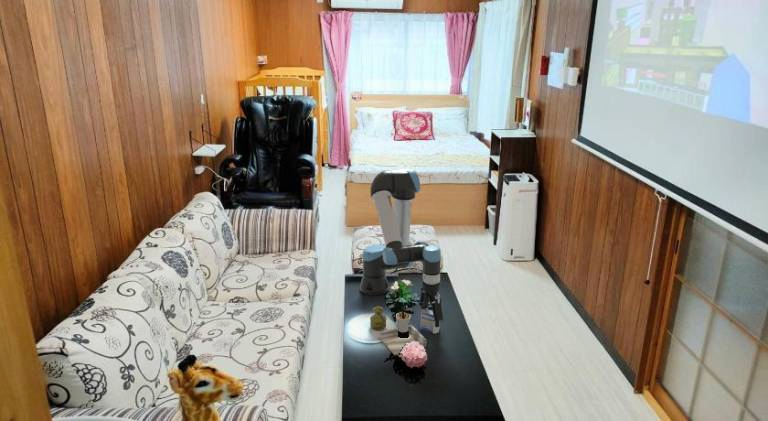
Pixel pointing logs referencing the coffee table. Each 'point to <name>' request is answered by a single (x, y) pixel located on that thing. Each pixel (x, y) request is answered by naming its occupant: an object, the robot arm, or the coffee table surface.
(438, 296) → the watch
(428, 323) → the medicine box
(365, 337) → the coffee table surface
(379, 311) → the gold round knobbed cylinder
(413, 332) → the corner arena
